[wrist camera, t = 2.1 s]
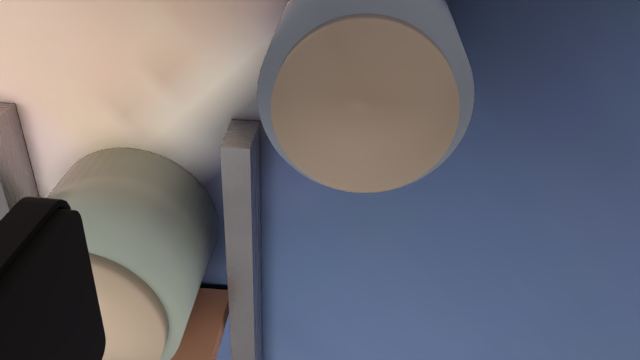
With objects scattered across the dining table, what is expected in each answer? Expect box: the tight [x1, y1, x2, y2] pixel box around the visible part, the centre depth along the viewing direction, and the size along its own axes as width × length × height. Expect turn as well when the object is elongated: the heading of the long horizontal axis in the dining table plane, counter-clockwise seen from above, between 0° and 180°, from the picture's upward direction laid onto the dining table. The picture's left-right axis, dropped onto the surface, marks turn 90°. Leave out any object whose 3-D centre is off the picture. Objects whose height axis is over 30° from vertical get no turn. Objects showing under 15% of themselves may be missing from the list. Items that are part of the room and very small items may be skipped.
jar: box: [257, 0, 474, 193], centre depth 16 cm, size 5×5×7 cm
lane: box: [0, 103, 262, 360], centre depth 25 cm, size 20×11×6 cm, turn 177°
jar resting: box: [47, 148, 218, 360], centre depth 22 cm, size 6×6×6 cm
